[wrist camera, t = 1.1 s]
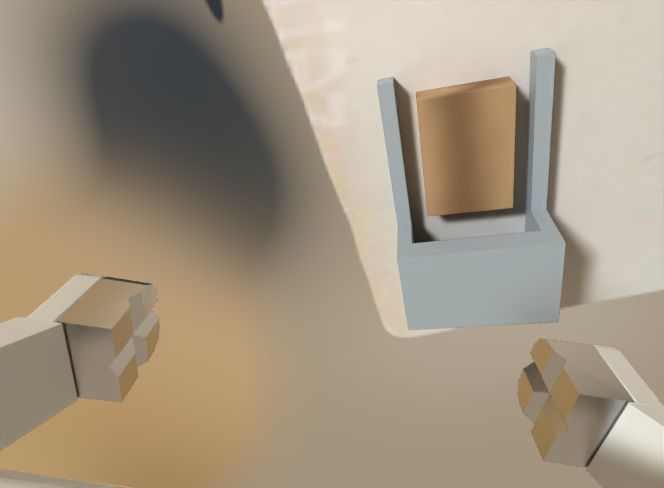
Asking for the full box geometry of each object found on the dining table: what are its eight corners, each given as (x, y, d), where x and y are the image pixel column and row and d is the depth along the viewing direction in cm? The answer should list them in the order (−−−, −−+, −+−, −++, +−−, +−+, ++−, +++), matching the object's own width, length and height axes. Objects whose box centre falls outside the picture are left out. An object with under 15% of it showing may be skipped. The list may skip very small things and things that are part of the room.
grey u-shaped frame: (548, 47, 31) (581, 67, 25) (537, 272, 42) (558, 322, 36) (378, 79, 34) (372, 104, 28) (407, 282, 45) (408, 330, 39)
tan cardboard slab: (507, 75, 33) (516, 84, 30) (505, 191, 38) (513, 207, 36) (415, 90, 34) (416, 100, 32) (425, 200, 40) (427, 216, 37)
